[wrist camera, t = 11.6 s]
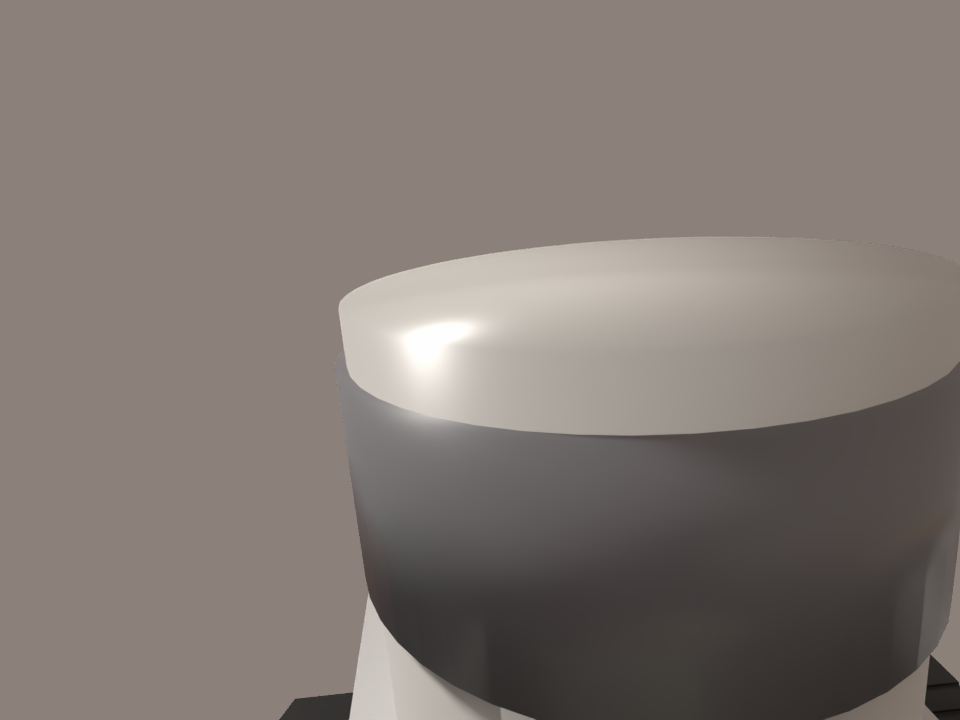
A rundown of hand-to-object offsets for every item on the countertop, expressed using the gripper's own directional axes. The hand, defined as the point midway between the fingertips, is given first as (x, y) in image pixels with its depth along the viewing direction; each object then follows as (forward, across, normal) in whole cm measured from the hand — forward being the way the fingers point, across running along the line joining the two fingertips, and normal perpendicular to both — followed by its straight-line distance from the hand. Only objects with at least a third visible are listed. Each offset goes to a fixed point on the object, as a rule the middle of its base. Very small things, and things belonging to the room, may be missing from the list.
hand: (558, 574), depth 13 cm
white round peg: (-5, 0, -9) cm, 10 cm away
